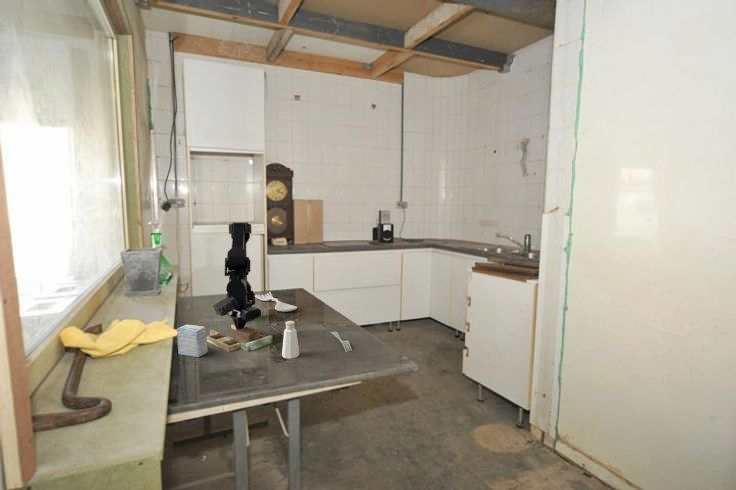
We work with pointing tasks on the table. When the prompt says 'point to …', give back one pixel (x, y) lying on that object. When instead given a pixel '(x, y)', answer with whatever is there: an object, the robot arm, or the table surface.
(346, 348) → the fork
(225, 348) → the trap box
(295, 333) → the salt shaker
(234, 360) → the table surface
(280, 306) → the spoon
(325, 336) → the table surface
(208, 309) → the table surface
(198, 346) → the medicine box
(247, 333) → the block
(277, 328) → the wrench
